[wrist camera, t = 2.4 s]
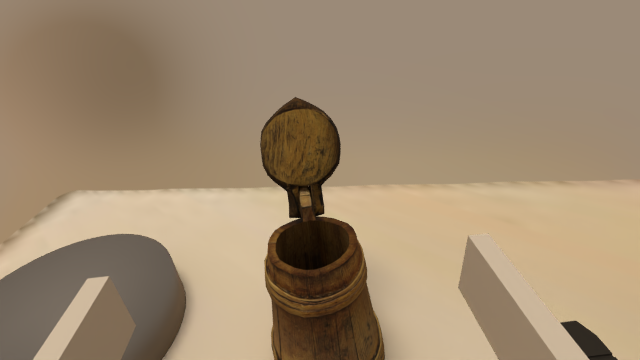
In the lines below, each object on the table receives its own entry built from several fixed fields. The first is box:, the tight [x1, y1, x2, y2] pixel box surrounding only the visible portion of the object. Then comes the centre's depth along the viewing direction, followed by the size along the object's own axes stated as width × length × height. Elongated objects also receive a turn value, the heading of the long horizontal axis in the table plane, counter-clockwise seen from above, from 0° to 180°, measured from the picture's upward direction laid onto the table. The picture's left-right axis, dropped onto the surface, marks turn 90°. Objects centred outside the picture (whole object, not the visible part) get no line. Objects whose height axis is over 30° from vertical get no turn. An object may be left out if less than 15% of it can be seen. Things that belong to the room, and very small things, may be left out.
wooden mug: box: [260, 97, 385, 360], centre depth 25 cm, size 9×14×18 cm, turn 5°
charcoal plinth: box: [0, 234, 186, 360], centre depth 30 cm, size 18×18×4 cm
